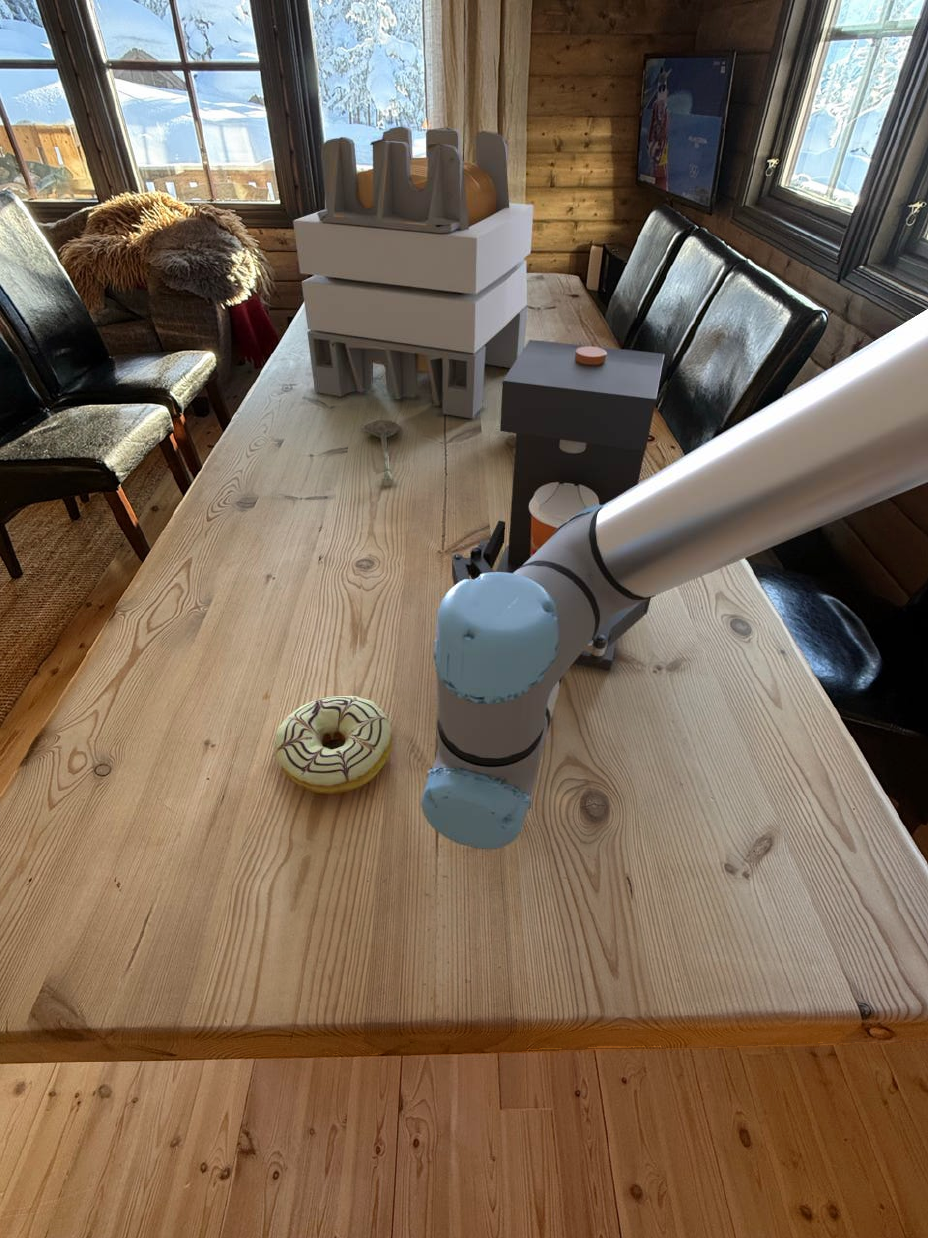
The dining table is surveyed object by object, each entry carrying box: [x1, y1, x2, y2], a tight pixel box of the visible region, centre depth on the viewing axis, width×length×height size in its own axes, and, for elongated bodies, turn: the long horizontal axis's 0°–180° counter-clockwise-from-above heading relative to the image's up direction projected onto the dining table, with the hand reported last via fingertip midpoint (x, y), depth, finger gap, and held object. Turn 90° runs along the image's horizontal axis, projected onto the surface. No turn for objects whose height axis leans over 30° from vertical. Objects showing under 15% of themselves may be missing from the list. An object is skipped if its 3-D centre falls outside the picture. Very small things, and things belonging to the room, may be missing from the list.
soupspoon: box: [362, 419, 402, 487], centre depth 109 cm, size 22×3×7 cm
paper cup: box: [529, 482, 600, 558], centre depth 74 cm, size 8×8×14 cm
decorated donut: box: [273, 695, 393, 795], centre depth 62 cm, size 10×11×4 cm
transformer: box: [292, 125, 534, 420], centre depth 122 cm, size 34×33×41 cm
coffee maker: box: [495, 339, 665, 671], centre depth 71 cm, size 18×16×29 cm
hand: (561, 541), depth 72 cm, fingers open, 13 cm apart
